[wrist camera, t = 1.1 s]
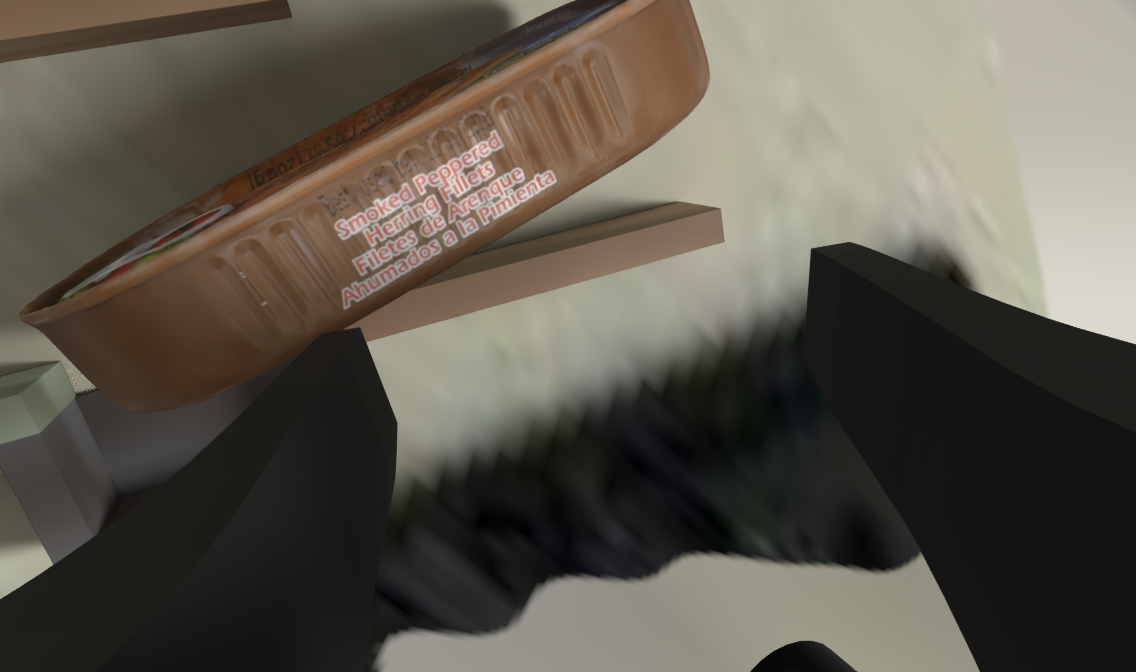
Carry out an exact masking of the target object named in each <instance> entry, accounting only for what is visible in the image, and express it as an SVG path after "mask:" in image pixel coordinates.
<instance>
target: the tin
mask: <svg viewBox="0 0 1136 672" xmlns="http://www.w3.org/2000/svg"><path fill="white" fill-rule="evenodd" d="M709 81H710V72H709V64H708V60H707V56H706V52H705V48H704V45H703V41H702V38H701V35H700V32H699V29H698V26H697V22H696V19H695V16H694V13H693V10H692V7H691V4H690V1H689V0H575V1H573V2H570V3H568V4H565V5H563V6H561V7H558V8H556V9H554V10H551V11H549V12H547V13H545V14H543V15H541V16H539V17H537V18H535V19H533V20H531V21H529V22H527V23H525V24H523V25H521V26H519V27H517V28H515V29H513V30H511V31H509V32H507V33H505V34H503V35H501V36H499V37H498V38H496V39H494V40H493V41H491V42H489V43H488V44H485V45H483V46H481V47H479V48H477V49H475V50H473V51H471V52H469V53H467V54H465V55H463V56H461V57H459V58H457V59H455V60H454V61H452V62H450V63H448V64H446V65H444V66H442V67H440V68H439V69H437V70H435V71H433V72H431V73H429V74H427V75H425V76H423V77H421V78H419V79H417V80H416V81H414V82H412V83H410V84H408V85H407V86H405V87H403V88H401V89H399V90H397V91H395V92H393V93H391V94H389V95H388V96H386V97H384V98H382V99H380V100H378V101H377V102H375V103H373V104H371V105H369V106H367V107H365V108H363V109H361V110H359V111H358V112H356V113H354V114H352V115H350V116H348V117H346V118H344V119H342V120H340V121H338V122H336V123H335V124H333V125H331V126H329V127H327V128H325V129H324V130H322V131H320V132H318V133H316V134H314V135H312V136H310V137H308V138H306V139H304V140H303V141H301V142H299V143H297V144H295V145H293V146H291V147H289V148H287V149H285V150H283V151H282V152H280V153H278V154H276V155H274V156H272V157H270V158H268V159H267V160H265V161H263V162H261V163H259V164H257V165H256V166H254V167H252V168H250V169H248V170H246V171H244V172H243V173H241V174H239V175H237V176H235V177H233V178H231V179H229V180H228V181H226V182H224V183H222V184H220V185H218V186H216V187H215V188H213V189H211V190H210V191H208V192H206V193H205V194H203V195H201V196H199V197H198V198H196V199H195V200H193V201H191V202H188V203H187V204H185V205H183V206H181V207H179V208H178V209H176V210H174V211H172V212H170V213H169V214H167V215H165V216H163V217H162V218H160V219H158V220H157V221H155V222H153V223H151V224H150V225H148V226H146V227H145V228H143V229H142V230H140V231H138V232H137V233H135V234H133V235H131V236H129V237H128V238H127V239H125V240H124V241H122V242H120V243H119V244H117V245H115V246H113V247H112V248H110V249H109V250H107V251H106V252H104V253H103V254H102V255H100V256H98V257H97V258H95V259H93V260H92V261H90V262H89V263H87V264H86V265H84V266H83V267H81V268H80V269H78V270H77V271H75V272H74V273H73V274H71V275H70V276H68V277H67V278H66V279H64V280H62V281H61V282H59V283H58V284H56V285H54V286H53V287H52V288H50V289H48V290H47V291H45V292H44V293H42V294H41V295H39V297H37V298H36V299H35V300H34V301H32V302H31V303H29V304H28V305H27V306H26V307H25V308H24V309H23V310H22V312H21V313H20V318H21V320H22V321H24V322H25V323H27V324H29V325H31V326H33V327H35V328H37V329H38V330H40V331H41V332H42V333H44V334H45V335H46V336H47V338H48V339H49V340H50V341H51V342H52V343H53V344H54V345H55V346H56V347H57V348H58V349H59V350H60V351H61V352H62V353H63V354H64V355H65V356H66V357H67V358H68V359H69V360H70V361H71V362H72V363H73V364H74V365H75V367H76V368H77V369H78V370H79V371H80V372H81V373H82V374H83V375H84V376H85V377H86V378H87V379H88V380H89V381H90V382H91V383H92V384H93V385H94V386H96V387H97V388H98V389H99V390H100V391H101V392H102V393H103V394H104V395H105V396H106V397H108V398H109V399H110V400H111V401H113V402H114V403H115V404H117V405H118V406H119V407H121V408H123V409H125V410H127V411H131V412H135V413H155V412H163V411H168V410H174V409H179V408H182V407H185V406H189V405H192V404H196V403H198V402H201V401H204V400H207V399H209V398H212V397H214V396H216V395H219V394H221V393H223V392H226V391H228V390H230V389H233V388H235V387H237V386H239V385H241V384H244V383H246V382H248V381H250V380H252V379H254V378H256V377H258V376H260V375H263V374H265V373H267V372H269V371H271V370H273V369H274V368H276V367H278V366H280V365H282V364H284V363H285V362H287V361H289V360H291V359H293V358H295V357H296V356H298V355H300V354H301V353H302V352H303V351H304V350H305V349H306V348H307V347H308V346H309V345H310V344H311V343H312V342H313V341H314V340H315V339H316V338H318V337H319V336H320V335H321V334H322V333H328V332H334V331H340V330H343V329H345V328H347V327H348V326H350V325H352V324H354V323H356V322H357V321H359V320H361V319H363V318H364V317H366V316H368V315H369V314H371V313H373V312H375V311H376V310H378V309H380V308H382V307H383V306H385V305H387V304H389V303H390V302H392V301H394V300H396V299H397V298H399V297H401V296H402V295H404V294H405V293H407V292H409V291H410V290H412V289H414V288H416V287H418V286H420V285H421V284H423V283H425V282H426V281H428V280H430V279H431V278H433V277H435V276H436V275H438V274H440V273H442V272H443V271H445V270H447V269H449V268H451V267H452V266H454V265H455V264H457V263H459V262H460V261H462V260H464V259H465V258H467V257H469V256H470V255H472V254H474V253H475V252H477V251H479V250H480V249H482V248H484V247H485V246H487V245H489V244H491V243H492V242H494V241H496V240H498V239H499V238H501V237H503V236H504V235H506V234H508V233H509V232H511V231H513V230H514V229H516V228H518V227H520V226H521V225H523V224H525V223H526V222H528V221H530V220H531V219H533V218H535V217H536V216H538V215H539V214H541V213H543V212H544V211H546V210H548V209H549V208H551V207H553V206H554V205H556V204H558V203H560V202H562V201H563V200H565V199H566V198H568V197H569V196H571V195H573V194H574V193H576V192H578V191H579V190H581V189H583V188H584V187H586V186H588V185H590V184H591V183H593V182H595V181H596V180H598V179H599V178H601V177H603V176H604V175H606V174H608V173H609V172H611V171H613V170H614V169H616V168H618V167H619V166H621V165H623V164H624V163H626V162H628V161H629V160H631V159H632V158H634V157H635V156H637V155H638V154H640V153H641V152H643V151H644V150H646V149H647V148H649V147H650V146H652V145H653V144H654V143H656V142H657V141H658V140H659V139H661V138H662V137H663V136H665V135H666V134H667V133H668V132H670V131H671V130H672V129H673V128H675V127H676V126H677V125H678V124H679V123H681V122H682V121H683V120H684V119H685V118H686V117H687V116H688V115H689V114H690V113H691V112H692V111H693V110H694V108H695V107H696V106H697V105H698V104H699V102H700V101H701V100H702V98H703V97H704V95H705V92H706V90H707V88H708V85H709Z"/></svg>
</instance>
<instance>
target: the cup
mask: <svg viewBox="0 0 1136 672" xmlns="http://www.w3.org/2000/svg"><path fill="white" fill-rule="evenodd" d="M751 672H857V671H855V670H854V669H853V668H852V667H851V666H850V665H849V664H847V663H846V662H845V661H844V660H843V659H841V658H840V657H839V656H838V655H837V654H835V653H834V652H833V651H832V650H831V649H829V648H828V647H826V646H825V645H824V644H821V643H818V642H814V641H799V642H795V643H791V644H787V645H785V646H783V647H781V648H779V649H777V650H775V651H773V652H772V653H770V654H769V655H768V656H766V657H765V658H764V659H762V660H761V661H760V662H759V663H758V664H757V665H756V666H755V667H754V668H753V669H752V670H751Z"/></svg>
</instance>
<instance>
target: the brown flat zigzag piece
mask: <svg viewBox="0 0 1136 672" xmlns="http://www.w3.org/2000/svg"><path fill="white" fill-rule="evenodd" d="M291 17H292V15H291V12H290V9H289V5H288V2H287V0H0V63H2V62H8V61H15V60H21V59H27V58H34V57H40V56H47V55H53V54H60V53H66V52H72V51H79V50H85V49H92V48H98V47H105V46H111V45H117V44H124V43H130V42H137V41H143V40H149V39H156V38H162V37H169V36H175V35H182V34H188V33H194V32H201V31H207V30H214V29H220V28H227V27H233V26H239V25H246V24H252V23H259V22H265V21H272V20H278V19H284V18H291ZM722 242H725V241H724V233H723V224H722V215H721V208H715V207H709V206H703V205H698V204H692V203H686V202H676V203H672V204H668V205H665V206H661V207H657V208H653V209H649V210H645V211H641V212H637V213H634V214H630V215H626V216H622V217H618V218H614V219H610V220H606V221H602V222H599V223H595V224H591V225H587V226H583V227H579V228H575V229H571V230H567V231H564V232H560V233H556V234H552V235H548V236H544V237H540V238H536V239H533V240H529V241H525V242H521V243H517V244H513V245H509V246H505V247H501V248H498V249H494V250H490V251H486V252H482V253H478V254H474V255H470V256H469V257H467V258H465V259H464V260H462V261H460V262H459V263H457V264H455V265H454V266H452V267H451V268H449V269H447V270H445V271H443V272H442V273H440V274H438V275H436V276H435V277H433V278H431V279H430V280H428V281H426V282H425V283H423V284H421V285H420V286H418V287H416V288H414V289H412V290H410V291H409V292H407V293H405V294H404V295H402V296H401V297H399V298H397V299H396V300H394V301H392V302H390V303H389V304H387V305H385V306H383V307H382V308H380V309H378V310H376V311H375V312H373V313H371V314H369V315H368V316H366V317H364V318H363V319H361V320H359V321H357V322H356V323H354V324H352V325H350V326H348V327H347V328H345V329H343V330H346V329H351V328H357V327H360V328H361V331H362V333H363V336H364V338H365V341H366V342H368V341H371V340H375V339H379V338H382V337H386V336H389V335H393V334H397V333H400V332H404V331H407V330H411V329H414V328H418V327H422V326H425V325H429V324H432V323H436V322H439V321H443V320H447V319H450V318H454V317H457V316H461V315H465V314H468V313H472V312H475V311H479V310H482V309H486V308H490V307H493V306H497V305H500V304H504V303H508V302H511V301H515V300H518V299H522V298H525V297H529V296H533V295H536V294H540V293H543V292H547V291H550V290H554V289H558V288H561V287H565V286H568V285H572V284H576V283H579V282H583V281H586V280H590V279H593V278H597V277H601V276H604V275H608V274H611V273H615V272H618V271H622V270H626V269H629V268H633V267H636V266H640V265H644V264H647V263H651V262H654V261H658V260H661V259H665V258H669V257H672V256H676V255H679V254H683V253H687V252H690V251H694V250H697V249H701V248H704V247H708V246H712V245H715V244H719V243H722ZM298 356H299V355H298ZM298 356H296V357H295V358H293V359H291V360H289V361H287V362H285V363H284V364H282V365H280V366H278V367H276V368H274V369H273V370H271V371H269V372H267V373H265V374H263V375H260V376H258V377H256V378H254V379H252V380H250V381H248V382H246V383H244V384H241V385H239V386H237V387H235V388H233V389H230V390H228V391H226V392H223V393H221V394H219V395H216V396H214V397H212V398H209V399H207V400H204V401H201V402H198V403H196V404H192V405H189V406H185V407H182V408H179V409H174V410H168V411H163V412H155V413H135V412H131V411H127V410H125V409H123V408H121V407H119V406H118V405H117V404H115V403H114V402H113V401H111V400H110V399H109V398H108V397H106V396H105V395H104V394H103V393H102V392H101V391H100V390H97V391H93V392H89V393H85V394H82V395H78V396H77V395H76V393H75V391H74V389H73V387H72V385H71V382H70V380H69V378H68V376H67V374H66V372H65V370H64V368H63V366H62V364H61V362H60V361H59V362H55V363H51V364H47V365H43V366H39V367H35V368H31V369H27V370H24V371H20V372H16V373H12V374H8V375H4V376H0V467H1V469H2V471H3V473H4V474H5V476H6V478H7V480H8V482H9V484H10V485H11V487H12V489H13V491H14V493H15V495H16V496H17V498H18V500H19V502H20V504H21V506H22V508H23V509H24V511H25V513H26V515H27V517H28V519H29V520H30V522H31V524H32V526H33V528H34V530H35V531H36V533H37V535H38V537H39V539H40V541H41V542H42V544H43V546H44V548H45V550H46V552H47V553H48V555H49V557H50V559H51V561H52V563H53V565H54V564H55V563H57V562H58V561H60V560H61V559H63V558H64V557H65V556H67V555H68V554H70V553H71V552H73V551H74V550H76V549H77V548H78V547H80V546H81V545H83V544H84V543H86V542H87V541H88V540H90V539H91V538H93V537H94V536H96V535H97V534H99V533H100V532H101V531H103V530H104V529H106V528H107V527H109V526H110V525H111V524H113V523H114V522H115V521H117V520H118V519H120V518H121V517H122V516H124V515H125V514H126V513H127V512H129V511H130V510H131V509H133V508H134V507H135V506H136V505H138V504H139V503H140V502H141V501H143V500H144V499H145V498H147V497H148V496H149V495H150V494H152V493H153V492H154V491H155V490H157V489H158V488H159V487H160V486H162V485H163V484H164V483H165V482H166V481H168V480H169V479H170V478H171V477H172V476H174V475H175V474H176V473H177V472H178V471H180V470H181V469H182V468H183V467H184V466H185V465H186V464H188V463H189V462H190V461H191V460H192V459H193V458H194V457H195V456H196V455H198V454H199V453H200V452H201V451H202V450H203V449H204V448H205V447H206V446H207V445H208V444H209V443H210V442H211V441H213V440H214V439H215V438H216V437H217V436H218V435H219V434H220V433H221V432H222V431H223V430H224V429H225V428H227V427H228V426H229V425H230V424H231V423H232V422H233V421H234V420H235V419H236V418H237V417H238V416H239V415H240V414H241V413H242V412H243V411H244V410H245V409H246V408H247V407H248V406H249V405H250V404H251V403H252V402H253V401H254V400H255V399H256V398H257V397H258V396H259V395H260V394H261V393H262V392H263V391H264V390H265V389H266V388H267V387H268V386H269V385H270V384H271V383H272V382H273V381H274V380H275V379H276V378H277V377H278V376H279V375H280V374H281V373H282V372H283V371H284V370H285V369H286V368H287V367H288V366H289V365H290V364H291V363H292V362H293V361H294V360H295V359H296V358H297V357H298Z"/></svg>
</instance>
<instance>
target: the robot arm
mask: <svg viewBox="0 0 1136 672" xmlns="http://www.w3.org/2000/svg"><path fill="white" fill-rule="evenodd" d="M804 355H805V357H806V359H807V361H808V364H809V366H810V368H811V371H812V373H813V375H814V377H815V380H816V382H817V384H818V386H819V388H820V390H821V392H822V394H823V396H824V398H825V400H826V402H827V404H828V406H829V407H830V409H831V410H832V412H833V414H834V415H835V417H836V418H837V420H838V421H839V423H840V424H841V426H842V428H843V429H844V431H845V432H846V434H847V435H848V437H849V438H850V440H851V441H852V443H853V444H854V446H855V447H856V449H857V450H858V452H859V453H860V455H861V456H862V458H863V459H864V461H865V463H866V464H867V466H868V467H869V469H870V470H871V472H872V473H873V475H874V476H875V478H876V479H877V481H878V482H879V484H880V485H881V487H882V488H883V490H884V491H885V493H886V494H887V496H888V497H889V499H890V500H891V502H892V503H893V505H894V506H895V508H896V509H897V511H898V512H899V514H900V516H901V517H902V519H903V521H904V522H905V524H906V526H907V527H908V529H909V531H910V532H911V534H912V536H913V537H914V539H915V541H916V543H917V545H918V547H919V549H920V551H921V553H922V555H923V556H924V558H925V560H926V562H927V564H928V566H929V568H930V570H931V572H932V574H933V576H934V578H935V580H936V582H937V584H938V585H939V587H940V589H941V591H942V593H943V595H944V597H945V599H946V601H947V603H948V606H949V608H950V610H951V612H952V614H953V616H954V618H955V620H956V622H957V624H958V626H959V628H960V630H961V632H962V635H963V637H964V639H965V641H966V643H967V645H968V647H969V649H970V651H971V653H972V655H973V657H974V659H975V662H976V664H977V666H978V668H979V671H980V672H1136V344H1132V343H1129V342H1125V341H1122V340H1118V339H1115V338H1111V337H1108V336H1104V335H1101V334H1097V333H1094V332H1090V331H1087V330H1083V329H1080V328H1076V327H1073V326H1070V325H1067V324H1064V323H1061V322H1058V321H1054V320H1051V319H1048V318H1046V317H1043V316H1040V315H1037V314H1034V313H1031V312H1029V311H1026V310H1023V309H1020V308H1017V307H1015V306H1012V305H1009V304H1006V303H1003V302H1001V301H998V300H995V299H993V298H990V297H988V296H985V295H982V294H980V293H977V292H975V291H972V290H970V289H967V288H965V287H962V286H960V285H957V284H955V283H952V282H950V281H948V280H945V279H943V278H940V277H938V276H935V275H933V274H931V273H928V272H926V271H924V270H921V269H919V268H916V267H914V266H912V265H909V264H907V263H904V262H902V261H900V260H897V259H895V258H892V257H890V256H888V255H885V254H883V253H880V252H878V251H875V250H872V249H870V248H867V247H864V246H861V245H858V244H855V243H851V242H846V243H841V244H835V245H829V246H823V247H818V248H812V249H811V257H810V271H809V285H808V299H807V313H806V327H805V341H804ZM396 455H397V421H396V418H395V416H394V413H393V410H392V408H391V405H390V403H389V400H388V397H387V395H386V392H385V390H384V387H383V385H382V382H381V379H380V377H379V374H378V372H377V369H376V367H375V364H374V361H373V359H372V356H371V354H370V351H369V349H368V346H367V343H366V341H365V338H364V336H363V333H362V331H361V328H360V327H357V328H351V329H346V330H340V331H334V332H328V333H322V334H321V335H320V336H319V337H318V338H316V339H315V340H314V341H313V342H312V343H311V344H310V345H309V346H308V347H307V348H306V349H305V350H304V351H303V352H302V353H301V354H300V355H299V356H298V357H297V358H296V359H295V360H294V361H293V362H292V363H291V364H290V365H289V366H288V367H287V368H286V369H285V370H284V371H283V372H282V373H281V374H280V375H279V376H278V377H277V378H276V379H275V380H274V381H273V382H272V383H271V384H270V385H269V386H268V387H267V388H266V389H265V390H264V391H263V392H262V393H261V394H260V395H259V396H258V397H257V398H256V399H255V400H254V401H253V402H252V403H251V404H250V405H249V406H248V407H247V408H246V409H245V410H244V411H243V412H242V413H241V414H240V415H239V416H238V417H237V418H236V419H235V420H234V421H233V422H232V423H231V424H230V425H229V426H228V427H227V428H225V429H224V430H223V431H222V432H221V433H220V434H219V435H218V436H217V437H216V438H215V439H214V440H213V441H211V442H210V443H209V444H208V445H207V446H206V447H205V448H204V449H203V450H202V451H201V452H200V453H199V454H198V455H196V456H195V457H194V458H193V459H192V460H191V461H190V462H189V463H188V464H186V465H185V466H184V467H183V468H182V469H181V470H180V471H178V472H177V473H176V474H175V475H174V476H172V477H171V478H170V479H169V480H168V481H166V482H165V483H164V484H163V485H162V486H160V487H159V488H158V489H157V490H155V491H154V492H153V493H152V494H150V495H149V496H148V497H147V498H145V499H144V500H143V501H141V502H140V503H139V504H138V505H136V506H135V507H134V508H133V509H131V510H130V511H129V512H127V513H126V514H125V515H124V516H122V517H121V518H120V519H118V520H117V521H115V522H114V523H113V524H111V525H110V526H109V527H107V528H106V529H104V530H103V531H101V532H100V533H99V534H97V535H96V536H94V537H93V538H91V539H90V540H88V541H87V542H86V543H84V544H83V545H81V546H80V547H78V548H77V549H76V550H74V551H73V552H71V553H70V554H68V555H67V556H65V557H64V558H63V559H61V560H60V561H58V562H57V563H55V564H54V565H52V566H51V567H50V568H48V569H47V570H45V571H44V572H42V573H41V574H39V575H38V576H36V577H35V578H33V579H32V580H30V581H29V582H27V583H25V584H24V585H22V586H21V587H19V588H18V589H16V590H14V591H13V592H11V593H10V594H8V595H6V596H5V597H3V598H2V599H0V672H364V670H365V658H366V646H367V634H368V626H369V619H370V612H371V605H372V600H373V594H374V589H375V584H376V579H377V573H378V568H379V563H380V558H381V552H382V547H383V542H384V537H385V532H386V526H387V521H388V516H389V510H390V505H391V499H392V494H393V488H394V482H395V473H396Z"/></svg>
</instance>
